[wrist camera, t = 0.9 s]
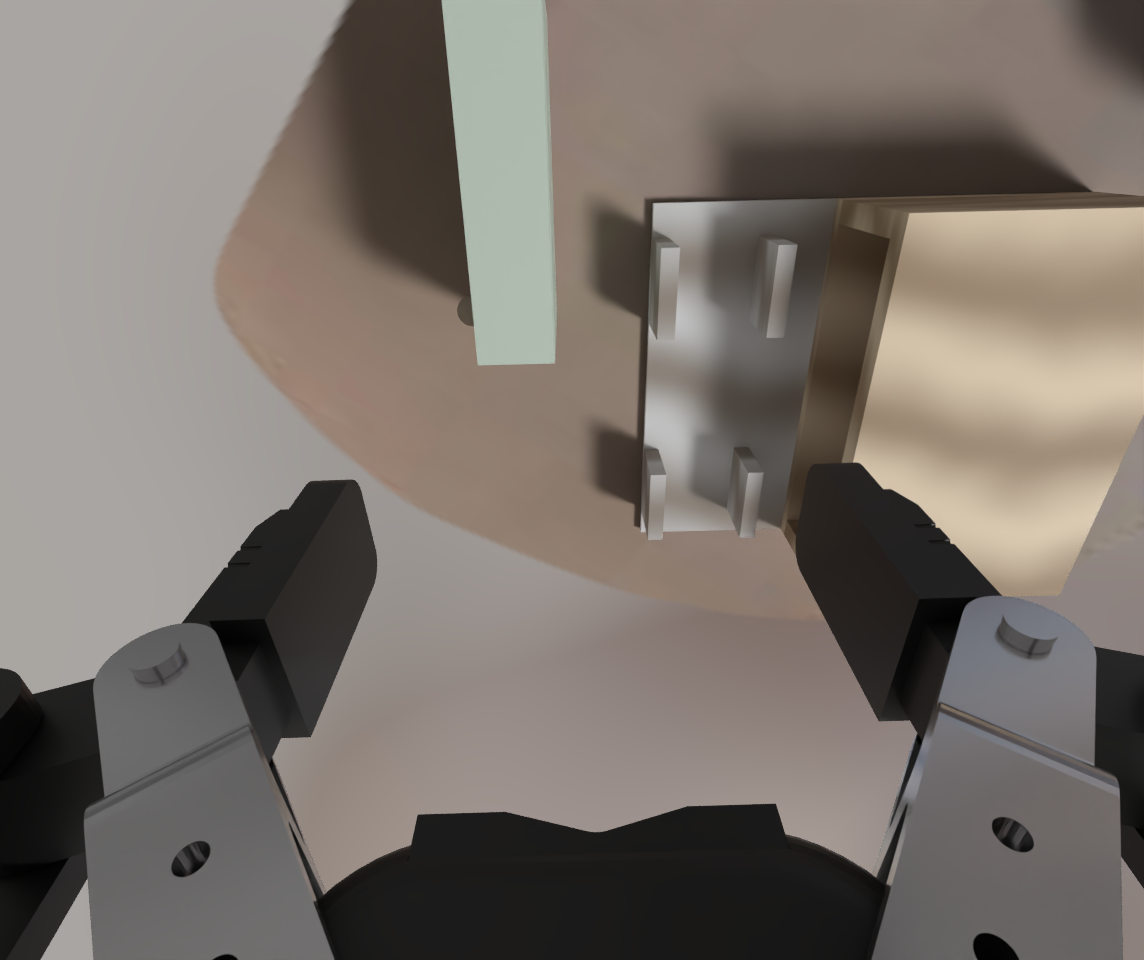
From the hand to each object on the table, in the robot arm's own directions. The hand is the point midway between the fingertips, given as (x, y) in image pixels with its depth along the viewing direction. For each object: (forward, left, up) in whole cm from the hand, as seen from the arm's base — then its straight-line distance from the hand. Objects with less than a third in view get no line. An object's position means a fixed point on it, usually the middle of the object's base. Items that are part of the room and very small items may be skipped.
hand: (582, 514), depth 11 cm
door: (-4, -2, -22) cm, 22 cm away
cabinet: (+6, +14, -21) cm, 26 cm away
